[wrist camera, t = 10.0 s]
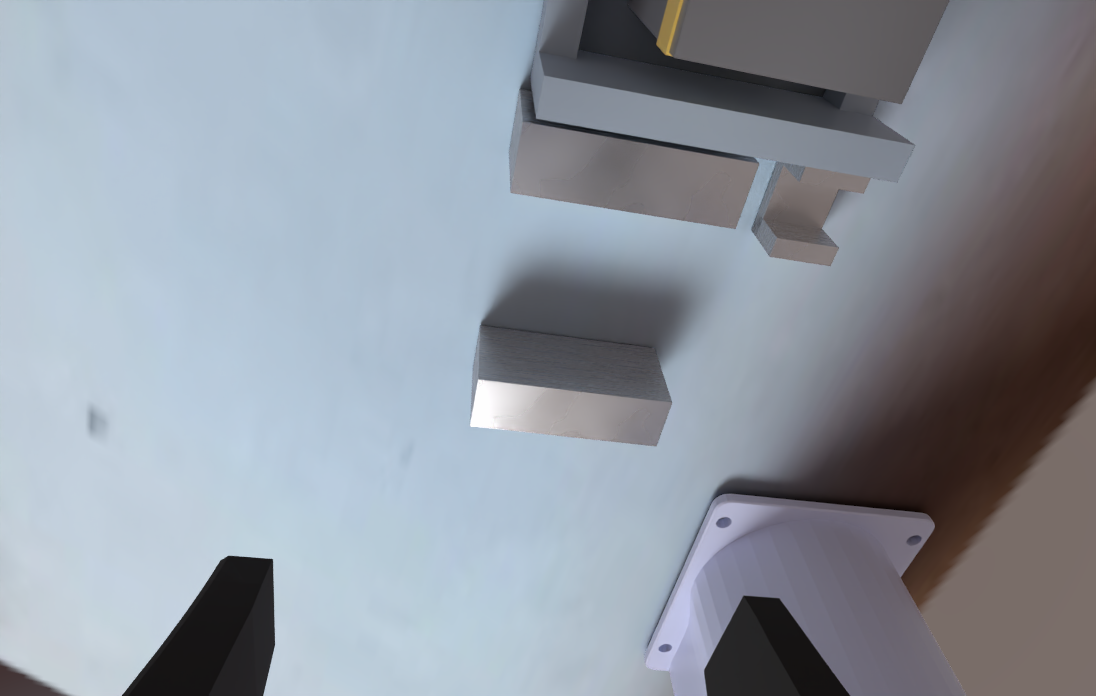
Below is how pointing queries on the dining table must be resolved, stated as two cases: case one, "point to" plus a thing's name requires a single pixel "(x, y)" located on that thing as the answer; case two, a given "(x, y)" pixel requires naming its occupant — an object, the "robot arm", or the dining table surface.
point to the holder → (705, 107)
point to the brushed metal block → (581, 364)
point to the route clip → (801, 212)
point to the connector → (802, 39)
